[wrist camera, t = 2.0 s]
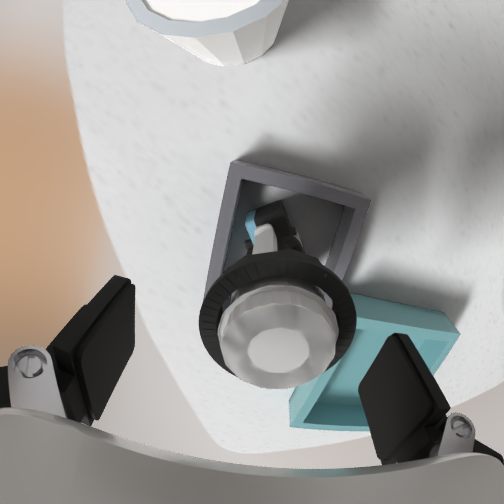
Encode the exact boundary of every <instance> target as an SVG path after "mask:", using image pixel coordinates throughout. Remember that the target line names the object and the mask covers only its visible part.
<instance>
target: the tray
mask: <svg viewBox="0 0 504 504" xmlns="http://www.w3.org/2000/svg"><path fill="white" fill-rule="evenodd" d="M350 295H351V297H352V299H353V302H354V305H355V309H356V315H357V325H356V331H355V335H354V338H353V341H352V343H351V345H350V347H349V348H348V350H347V352H346V353H345V354H344V356H343V357H342V358H341V359H340V360H339V361H338V362H337V363H336V364H335V365H334V366H332V367H331V368H330V369H328V370H327V371H325V372H324V373H322V374H320V376H318V377H316V378H314V379H313V380H311V381H310V382H308V383H306V384H303V385H299V386H297V387H296V388H295V390H294V392H293V394H292V396H291V398H290V400H289V414H290V427H295V428H306V429H318V430H335V431H370V429H369V426H368V423H367V419H366V416H365V413H364V409H363V406H362V403H361V400H360V396H359V393H358V386H359V384H360V382H361V380H362V379H363V377H364V376H365V374H366V373H367V371H368V369H369V368H370V366H371V364H372V363H373V361H374V359H375V358H376V356H377V354H378V353H379V351H380V349H381V347H382V346H383V344H384V342H385V340H386V339H387V337H388V336H391V334H393V333H403V334H407V335H408V336H409V337H410V339H411V340H412V342H413V343H414V345H415V347H416V348H417V350H418V352H419V353H420V355H421V357H422V358H423V360H424V361H425V363H426V365H427V367H428V368H429V370H430V372H431V373H432V375H434V374H435V372H436V371H437V369H438V368H439V366H440V365H441V364H442V362H443V361H444V359H445V358H446V356H447V355H448V353H449V352H450V350H451V348H452V347H453V345H454V344H455V342H456V340H457V339H458V337H459V335H460V333H459V331H458V330H457V329H456V328H455V326H454V325H453V324H452V322H451V321H450V320H449V319H448V317H447V316H446V315H445V314H444V312H439V311H434V310H429V309H424V308H419V307H414V306H410V305H405V304H400V303H395V302H390V301H386V300H381V299H376V298H371V297H367V296H362V295H358V294H353V293H350Z"/></svg>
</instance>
